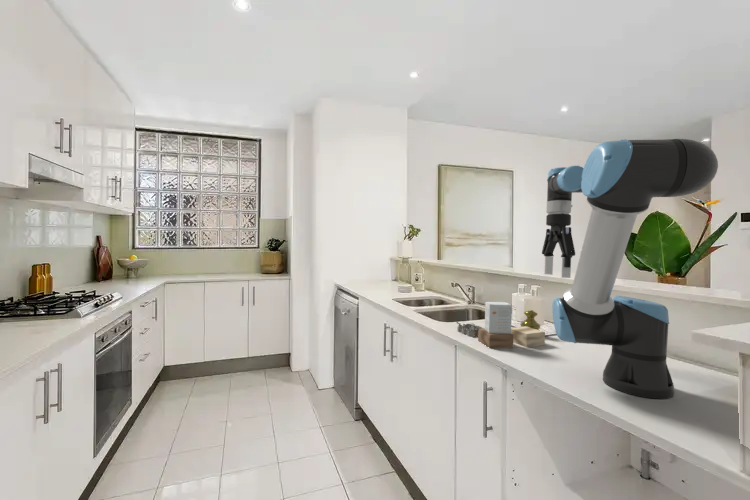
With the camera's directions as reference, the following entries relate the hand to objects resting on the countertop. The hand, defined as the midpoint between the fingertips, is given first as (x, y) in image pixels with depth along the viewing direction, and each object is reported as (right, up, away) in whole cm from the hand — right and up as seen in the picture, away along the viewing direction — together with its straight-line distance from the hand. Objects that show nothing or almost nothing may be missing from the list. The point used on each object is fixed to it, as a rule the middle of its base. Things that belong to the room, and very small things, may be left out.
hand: (556, 276), depth 123 cm
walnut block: (-18, -26, +8) cm, 33 cm away
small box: (-18, -21, +7) cm, 28 cm away
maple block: (-6, -26, +11) cm, 29 cm away
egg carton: (-24, -25, +23) cm, 42 cm away
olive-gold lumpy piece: (+1, -26, +23) cm, 34 cm away
